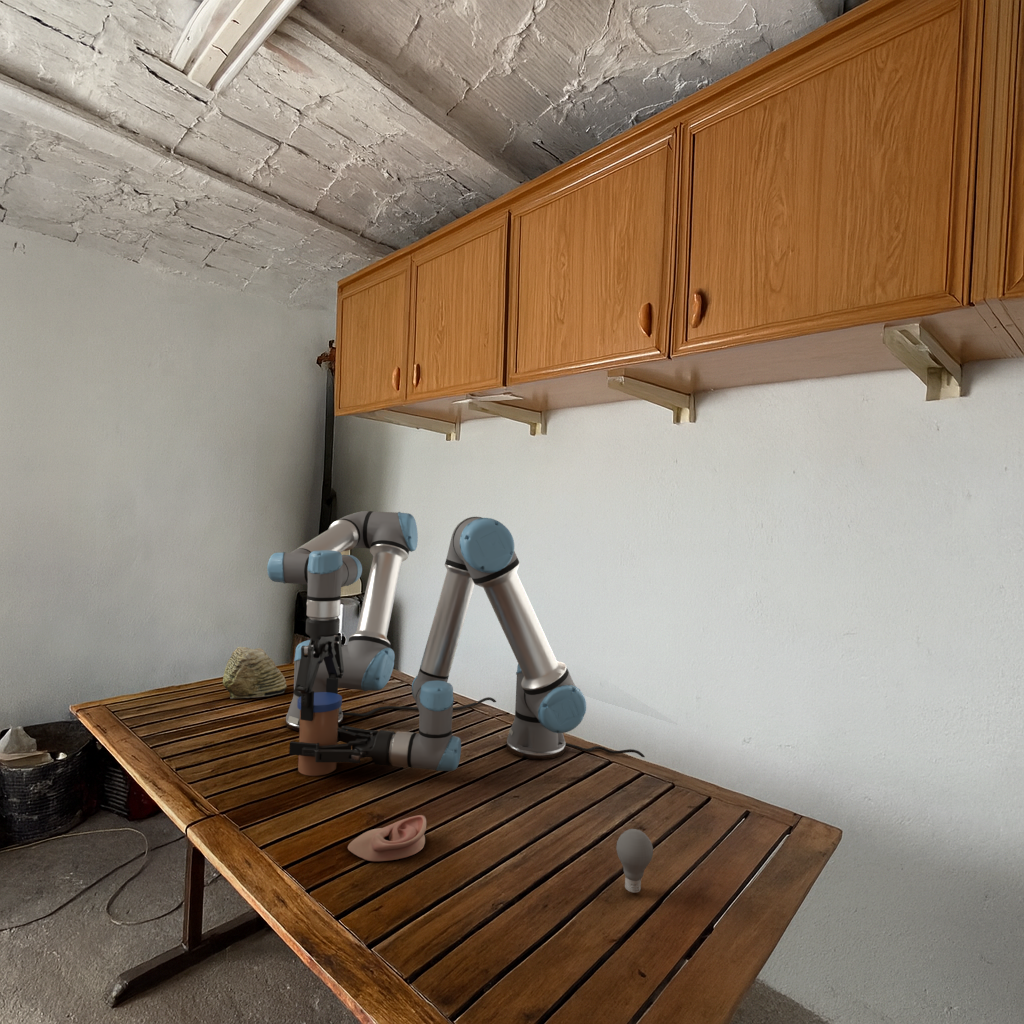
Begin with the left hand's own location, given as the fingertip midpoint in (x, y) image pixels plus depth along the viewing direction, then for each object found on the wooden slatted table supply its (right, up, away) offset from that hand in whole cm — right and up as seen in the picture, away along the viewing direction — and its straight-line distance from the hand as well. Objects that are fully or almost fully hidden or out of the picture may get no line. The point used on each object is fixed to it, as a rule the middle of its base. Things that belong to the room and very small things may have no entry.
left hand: (319, 712), depth 148 cm
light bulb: (+65, -17, -42) cm, 79 cm away
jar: (-1, -13, 0) cm, 13 cm away
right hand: (-5, -7, +1) cm, 8 cm away
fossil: (-36, -11, +51) cm, 63 cm away
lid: (0, +3, 0) cm, 3 cm away
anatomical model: (+22, -15, -31) cm, 41 cm away
